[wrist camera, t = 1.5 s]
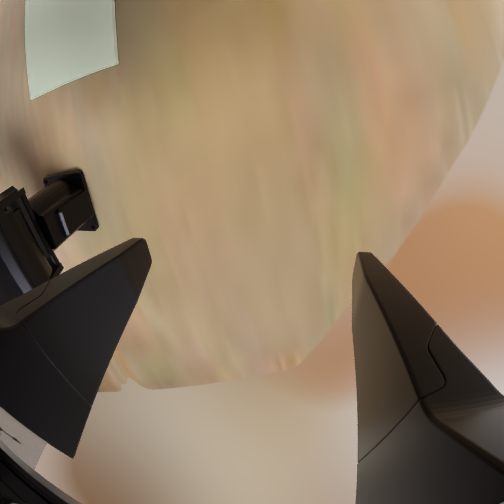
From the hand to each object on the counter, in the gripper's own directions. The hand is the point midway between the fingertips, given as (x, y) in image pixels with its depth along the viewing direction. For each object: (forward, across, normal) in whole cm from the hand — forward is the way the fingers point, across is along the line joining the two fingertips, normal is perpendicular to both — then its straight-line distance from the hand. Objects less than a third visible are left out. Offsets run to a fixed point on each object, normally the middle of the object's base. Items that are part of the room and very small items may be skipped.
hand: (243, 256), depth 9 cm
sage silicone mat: (+13, +18, -17) cm, 28 cm away
